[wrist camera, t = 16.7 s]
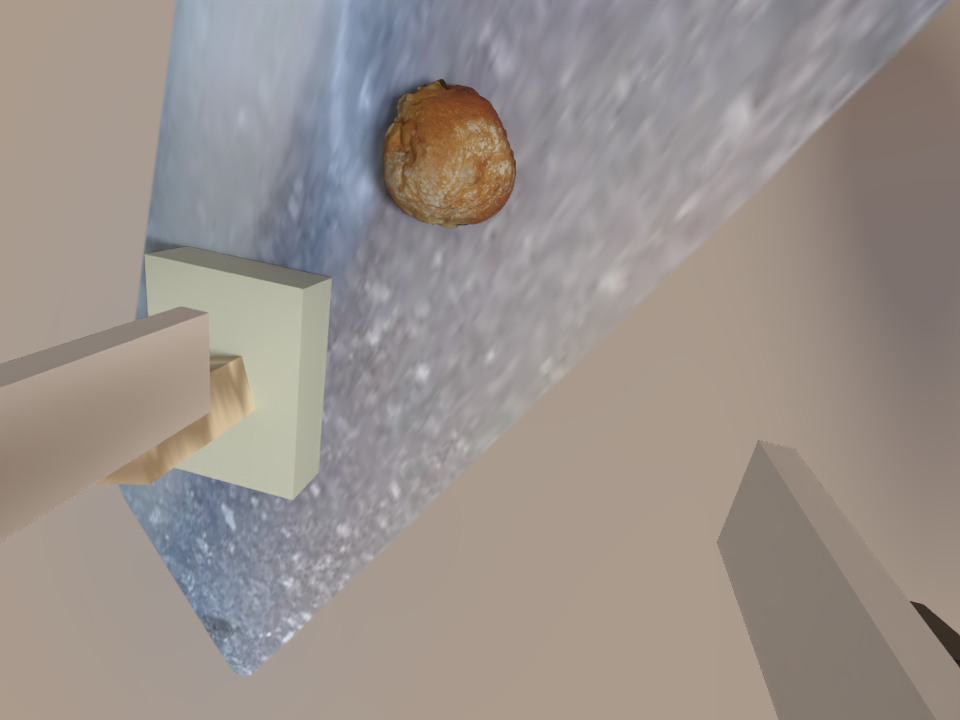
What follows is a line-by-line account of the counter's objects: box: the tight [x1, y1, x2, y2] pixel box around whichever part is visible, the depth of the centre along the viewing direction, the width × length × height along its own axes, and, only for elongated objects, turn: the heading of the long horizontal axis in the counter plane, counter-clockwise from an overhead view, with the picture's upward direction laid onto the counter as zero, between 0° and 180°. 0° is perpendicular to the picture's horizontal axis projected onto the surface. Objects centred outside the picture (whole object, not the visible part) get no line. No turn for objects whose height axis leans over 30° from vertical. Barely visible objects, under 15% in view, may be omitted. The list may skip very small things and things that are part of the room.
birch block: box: [97, 356, 255, 485], centre depth 40 cm, size 5×5×12 cm
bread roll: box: [383, 79, 516, 229], centre depth 39 cm, size 10×10×8 cm
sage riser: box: [144, 246, 332, 500], centre depth 48 cm, size 20×14×5 cm
